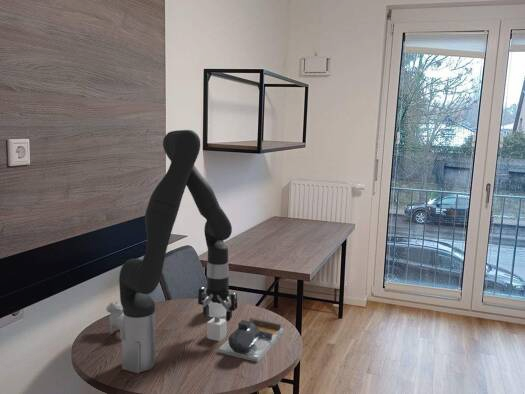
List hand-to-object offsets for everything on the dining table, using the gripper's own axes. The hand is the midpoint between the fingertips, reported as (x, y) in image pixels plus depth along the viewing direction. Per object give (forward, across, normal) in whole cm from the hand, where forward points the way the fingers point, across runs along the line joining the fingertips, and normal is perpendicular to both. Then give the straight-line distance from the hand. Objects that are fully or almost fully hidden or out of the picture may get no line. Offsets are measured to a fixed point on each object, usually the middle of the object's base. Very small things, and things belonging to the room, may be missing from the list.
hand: (217, 318), depth 168 cm
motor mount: (+7, +13, +1) cm, 15 cm away
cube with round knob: (+7, 0, -1) cm, 7 cm away
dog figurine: (+6, -32, -13) cm, 35 cm away
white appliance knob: (+7, -10, +18) cm, 22 cm away
